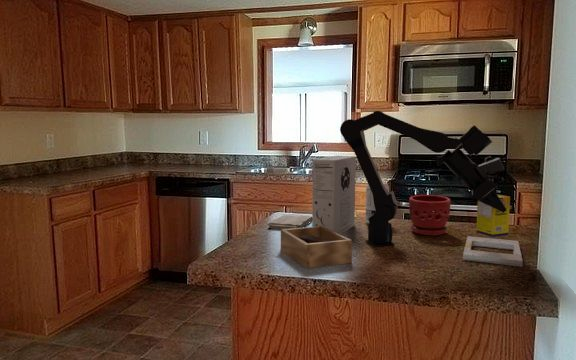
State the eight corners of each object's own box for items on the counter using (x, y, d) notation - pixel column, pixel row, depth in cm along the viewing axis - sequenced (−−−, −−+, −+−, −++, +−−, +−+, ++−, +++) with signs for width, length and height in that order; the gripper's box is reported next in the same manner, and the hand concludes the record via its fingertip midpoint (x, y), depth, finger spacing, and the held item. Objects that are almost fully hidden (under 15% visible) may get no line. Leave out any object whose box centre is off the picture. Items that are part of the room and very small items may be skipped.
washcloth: (266, 230, 154) (266, 221, 154) (283, 220, 171) (283, 212, 171) (298, 233, 151) (298, 224, 150) (312, 222, 168) (313, 214, 167)
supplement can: (372, 220, 169) (373, 181, 168) (392, 223, 164) (393, 182, 162) (361, 223, 163) (362, 183, 161) (381, 226, 158) (382, 184, 156)
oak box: (305, 268, 111) (306, 244, 110) (280, 250, 128) (280, 229, 127) (351, 262, 116) (352, 240, 115) (321, 245, 132) (321, 226, 132)
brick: (296, 253, 125) (296, 236, 125) (304, 249, 129) (304, 234, 128) (328, 260, 119) (328, 242, 118) (336, 256, 122) (336, 239, 121)
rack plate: (522, 266, 112) (522, 260, 112) (462, 259, 118) (463, 254, 118) (517, 245, 132) (518, 240, 132) (467, 240, 138) (467, 235, 138)
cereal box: (334, 223, 163) (335, 155, 160) (354, 225, 160) (356, 156, 157) (311, 236, 144) (312, 159, 141) (333, 239, 141) (334, 160, 138)
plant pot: (401, 229, 154) (402, 195, 153) (436, 227, 157) (437, 194, 155) (419, 238, 141) (420, 201, 140) (457, 236, 144) (458, 199, 143)
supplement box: (508, 235, 123) (510, 196, 122) (492, 237, 121) (494, 197, 120) (492, 230, 129) (493, 193, 127) (475, 232, 126) (477, 194, 125)
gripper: (489, 148, 114) (534, 194, 112) (483, 146, 132) (522, 185, 129) (455, 178, 117) (498, 222, 115) (453, 171, 135) (490, 209, 133)
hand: (503, 208), depth 123 cm, fingers closed on supplement box, 8 cm apart
